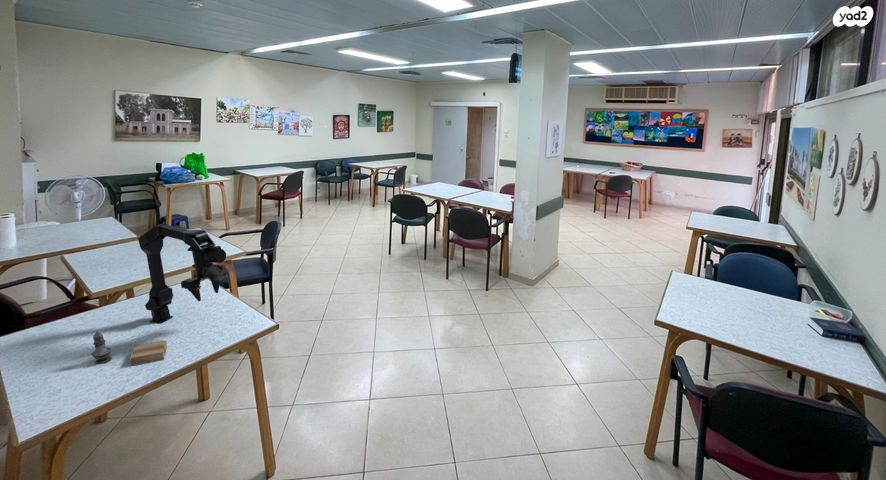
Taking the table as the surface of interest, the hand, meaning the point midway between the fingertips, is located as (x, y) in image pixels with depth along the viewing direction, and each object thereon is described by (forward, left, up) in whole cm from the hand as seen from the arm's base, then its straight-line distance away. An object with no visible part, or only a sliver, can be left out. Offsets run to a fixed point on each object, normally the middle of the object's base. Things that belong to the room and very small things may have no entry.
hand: (208, 296), depth 184 cm
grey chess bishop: (-21, -31, -15) cm, 41 cm away
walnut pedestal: (-7, -25, -15) cm, 30 cm away
